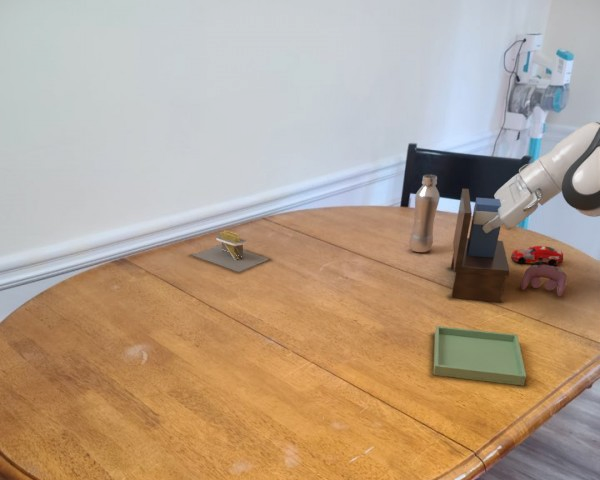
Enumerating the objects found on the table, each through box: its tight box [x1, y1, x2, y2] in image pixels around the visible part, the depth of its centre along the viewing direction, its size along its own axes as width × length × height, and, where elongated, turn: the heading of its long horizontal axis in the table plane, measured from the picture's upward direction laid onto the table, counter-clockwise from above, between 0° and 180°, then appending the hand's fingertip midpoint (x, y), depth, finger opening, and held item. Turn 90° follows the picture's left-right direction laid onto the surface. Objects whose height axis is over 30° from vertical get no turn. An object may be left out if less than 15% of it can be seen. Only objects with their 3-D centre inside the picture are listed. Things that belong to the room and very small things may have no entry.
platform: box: [192, 229, 270, 273], centre depth 151 cm, size 12×18×7 cm, turn 50°
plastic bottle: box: [408, 174, 441, 253], centre depth 152 cm, size 6×7×20 cm
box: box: [467, 197, 502, 258], centre depth 132 cm, size 6×6×12 cm
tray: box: [433, 325, 527, 386], centre depth 110 cm, size 16×16×2 cm
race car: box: [510, 245, 564, 267], centre depth 151 cm, size 13×5×4 cm, turn 80°
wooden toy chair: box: [450, 188, 511, 304], centre depth 134 cm, size 12×20×20 cm, turn 168°
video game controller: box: [520, 264, 568, 297], centre depth 136 cm, size 10×5×7 cm, turn 65°
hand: (482, 225), depth 132 cm, fingers open, 6 cm apart
